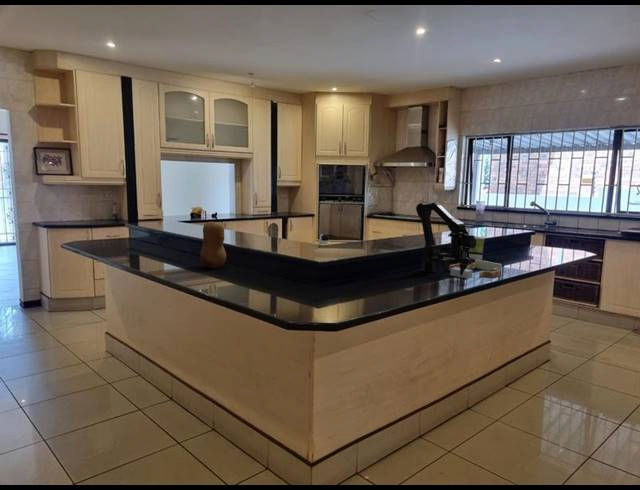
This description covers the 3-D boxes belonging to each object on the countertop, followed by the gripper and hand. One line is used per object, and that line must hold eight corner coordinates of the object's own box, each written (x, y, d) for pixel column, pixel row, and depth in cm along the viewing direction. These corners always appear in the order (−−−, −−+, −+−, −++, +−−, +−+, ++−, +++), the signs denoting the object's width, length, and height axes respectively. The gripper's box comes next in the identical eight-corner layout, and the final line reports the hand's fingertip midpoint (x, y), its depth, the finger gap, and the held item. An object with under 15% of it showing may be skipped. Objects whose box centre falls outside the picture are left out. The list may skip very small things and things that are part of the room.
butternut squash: (229, 265, 252) (229, 221, 247) (221, 271, 238) (222, 224, 234) (205, 264, 253) (205, 220, 249) (196, 269, 240) (196, 222, 236)
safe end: (499, 272, 263) (500, 264, 262) (474, 267, 275) (475, 259, 274) (500, 272, 263) (501, 264, 262) (475, 267, 275) (476, 259, 275)
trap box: (487, 278, 246) (488, 273, 245) (448, 270, 264) (449, 265, 263) (507, 273, 260) (508, 268, 260) (469, 266, 278) (469, 261, 278)
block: (467, 278, 245) (468, 271, 244) (450, 275, 251) (450, 268, 251) (472, 277, 249) (472, 270, 249) (454, 274, 256) (455, 267, 255)
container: (330, 253, 302) (330, 234, 300) (329, 255, 295) (330, 235, 293) (318, 252, 303) (319, 233, 301) (317, 254, 296) (318, 235, 293)
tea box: (458, 258, 304) (460, 236, 301) (458, 255, 313) (460, 234, 311) (482, 260, 299) (484, 238, 297) (481, 257, 309) (483, 236, 306)
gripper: (480, 247, 241) (477, 275, 243) (449, 242, 254) (447, 269, 257) (468, 248, 233) (465, 278, 236) (438, 243, 247) (435, 271, 250)
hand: (453, 274), depth 245 cm, fingers open, 9 cm apart
